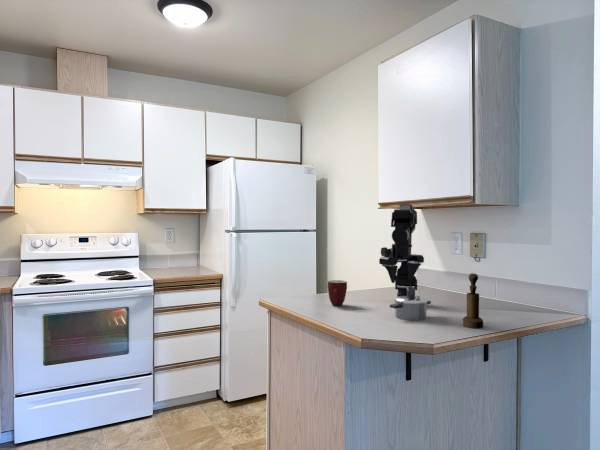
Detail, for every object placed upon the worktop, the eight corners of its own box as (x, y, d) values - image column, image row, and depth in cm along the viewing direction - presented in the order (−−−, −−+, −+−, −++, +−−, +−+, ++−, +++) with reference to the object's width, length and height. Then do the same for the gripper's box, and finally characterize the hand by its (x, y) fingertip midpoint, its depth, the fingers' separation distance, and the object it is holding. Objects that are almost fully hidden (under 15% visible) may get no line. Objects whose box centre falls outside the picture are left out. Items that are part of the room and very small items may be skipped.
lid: (410, 297, 167) (410, 284, 167) (434, 302, 157) (434, 288, 157) (388, 299, 161) (388, 286, 161) (411, 305, 151) (411, 291, 151)
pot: (417, 311, 169) (417, 296, 169) (439, 317, 159) (439, 301, 159) (381, 316, 159) (382, 300, 159) (402, 323, 150) (403, 305, 150)
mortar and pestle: (459, 323, 150) (459, 272, 150) (477, 323, 150) (477, 272, 150) (468, 328, 143) (468, 274, 143) (486, 328, 144) (487, 274, 143)
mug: (347, 308, 173) (347, 284, 173) (327, 308, 174) (327, 283, 174) (346, 303, 184) (346, 280, 184) (327, 303, 185) (327, 279, 185)
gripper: (404, 239, 178) (403, 277, 178) (369, 241, 168) (369, 281, 168) (425, 241, 168) (424, 280, 169) (389, 243, 158) (389, 285, 159)
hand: (401, 281), depth 166 cm, fingers open, 9 cm apart
